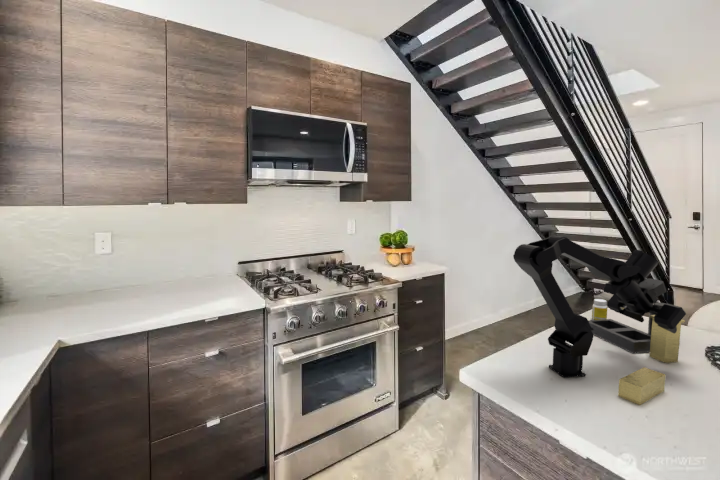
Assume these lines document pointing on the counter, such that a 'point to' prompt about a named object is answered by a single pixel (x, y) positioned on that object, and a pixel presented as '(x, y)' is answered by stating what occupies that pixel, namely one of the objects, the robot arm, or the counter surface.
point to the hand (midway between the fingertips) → (658, 326)
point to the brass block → (664, 343)
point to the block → (641, 385)
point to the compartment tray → (621, 335)
